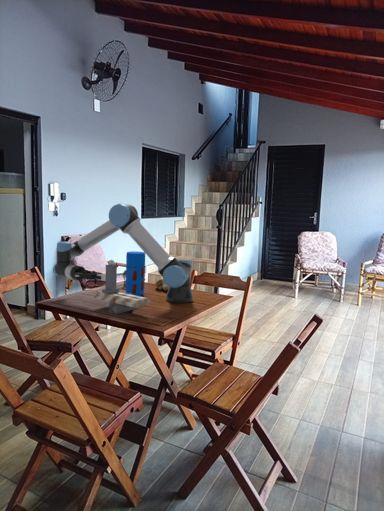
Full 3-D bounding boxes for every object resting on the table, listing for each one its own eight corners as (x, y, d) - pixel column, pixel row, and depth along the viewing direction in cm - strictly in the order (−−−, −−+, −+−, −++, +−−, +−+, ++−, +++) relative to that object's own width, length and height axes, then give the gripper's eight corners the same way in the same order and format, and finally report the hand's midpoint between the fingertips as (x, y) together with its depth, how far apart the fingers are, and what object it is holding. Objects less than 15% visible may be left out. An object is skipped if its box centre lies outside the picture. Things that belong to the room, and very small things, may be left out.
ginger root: (162, 283, 247) (164, 272, 245) (180, 292, 239) (183, 281, 237) (146, 287, 235) (148, 276, 232) (165, 297, 227) (168, 285, 224)
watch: (121, 285, 240) (121, 269, 239) (132, 284, 245) (132, 268, 244) (124, 287, 236) (125, 270, 235) (136, 286, 240) (136, 269, 239)
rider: (101, 295, 182) (102, 260, 180) (113, 292, 189) (114, 258, 187) (107, 296, 180) (108, 261, 178) (119, 294, 187) (120, 259, 185)
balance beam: (92, 308, 184) (92, 292, 183) (110, 303, 194) (110, 288, 193) (134, 319, 169) (135, 301, 168) (151, 313, 179) (151, 297, 178)
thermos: (147, 294, 219) (149, 252, 216) (135, 297, 210) (137, 254, 207) (133, 291, 225) (135, 250, 222) (121, 294, 216) (122, 252, 213)
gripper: (85, 277, 203) (116, 284, 190) (65, 281, 192) (96, 287, 179) (85, 264, 202) (116, 269, 189) (65, 266, 191) (97, 272, 179)
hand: (106, 278), depth 184 cm, fingers closed
